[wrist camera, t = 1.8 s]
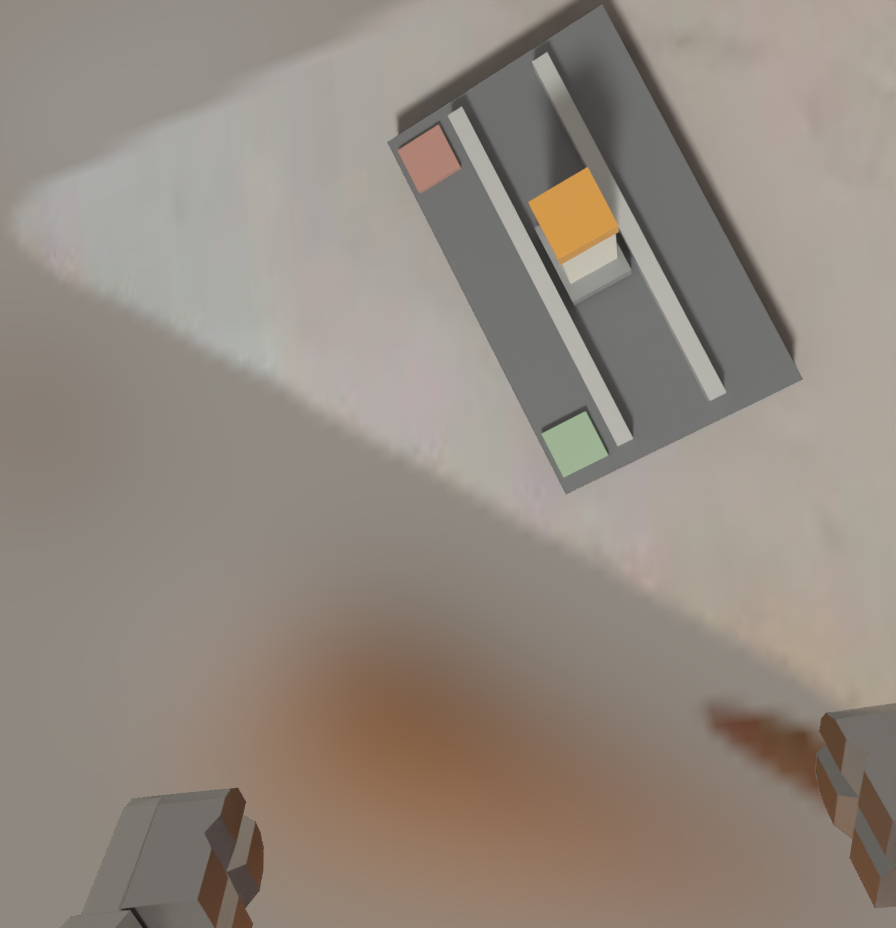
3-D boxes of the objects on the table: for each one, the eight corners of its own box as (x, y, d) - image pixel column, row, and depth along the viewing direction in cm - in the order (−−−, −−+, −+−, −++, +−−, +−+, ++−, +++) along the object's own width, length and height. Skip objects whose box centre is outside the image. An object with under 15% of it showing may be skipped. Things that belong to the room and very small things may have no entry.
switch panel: (793, 381, 37) (807, 377, 34) (569, 491, 39) (564, 496, 36) (603, 25, 38) (601, -8, 35) (398, 155, 41) (381, 134, 38)
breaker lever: (631, 274, 36) (631, 238, 29) (574, 305, 37) (561, 277, 30) (592, 200, 36) (583, 148, 29) (536, 233, 37) (515, 189, 30)
